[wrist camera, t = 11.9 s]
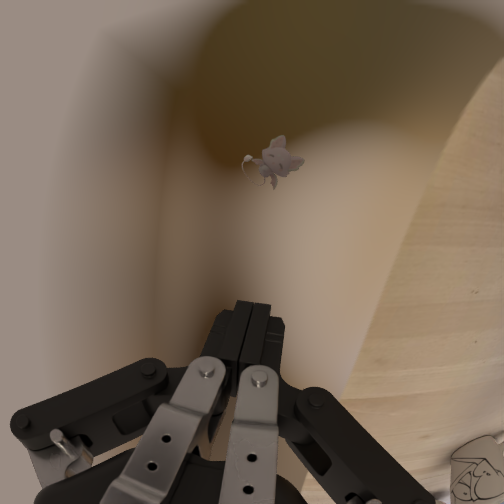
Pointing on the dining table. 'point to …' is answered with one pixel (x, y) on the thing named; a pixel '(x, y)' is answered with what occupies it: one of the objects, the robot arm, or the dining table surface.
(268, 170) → the toy
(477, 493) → the mug
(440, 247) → the dining table surface
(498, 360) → the dining table surface
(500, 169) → the dining table surface
